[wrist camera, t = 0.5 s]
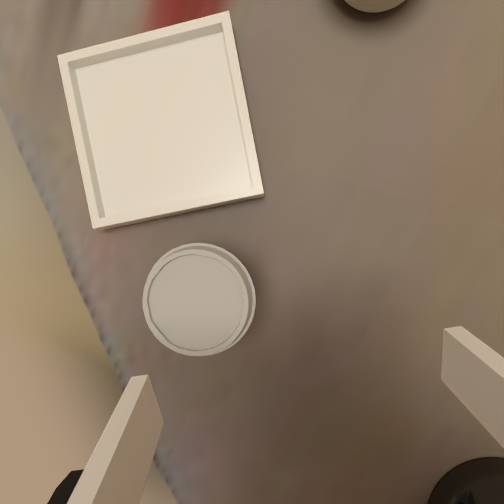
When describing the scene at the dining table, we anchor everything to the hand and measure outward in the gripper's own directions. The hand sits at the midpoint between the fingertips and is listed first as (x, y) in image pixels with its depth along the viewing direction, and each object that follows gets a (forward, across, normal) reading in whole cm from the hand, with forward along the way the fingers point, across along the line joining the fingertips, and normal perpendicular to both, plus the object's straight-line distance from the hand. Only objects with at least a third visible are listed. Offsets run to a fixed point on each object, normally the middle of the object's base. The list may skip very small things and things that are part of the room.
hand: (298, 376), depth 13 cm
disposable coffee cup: (+22, +6, +4) cm, 23 cm away
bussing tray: (+27, +9, -14) cm, 32 cm away
